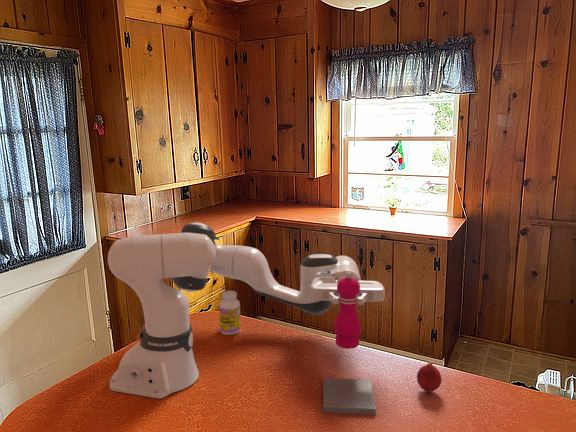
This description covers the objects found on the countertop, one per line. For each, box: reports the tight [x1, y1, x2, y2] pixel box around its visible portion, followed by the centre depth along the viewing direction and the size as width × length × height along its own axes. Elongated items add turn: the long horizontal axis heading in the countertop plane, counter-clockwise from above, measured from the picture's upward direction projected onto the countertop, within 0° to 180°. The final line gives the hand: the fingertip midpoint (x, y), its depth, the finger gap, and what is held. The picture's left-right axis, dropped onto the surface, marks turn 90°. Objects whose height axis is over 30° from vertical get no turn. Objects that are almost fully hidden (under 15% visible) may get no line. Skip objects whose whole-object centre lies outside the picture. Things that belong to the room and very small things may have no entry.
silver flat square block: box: [322, 377, 377, 416], centre depth 111 cm, size 12×12×2 cm
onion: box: [416, 361, 442, 393], centre depth 113 cm, size 6×6×8 cm
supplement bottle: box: [218, 290, 241, 336], centre depth 146 cm, size 7×7×13 cm
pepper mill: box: [333, 272, 362, 350], centre depth 121 cm, size 7×7×20 cm
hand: (348, 302), depth 119 cm, fingers closed on pepper mill, 5 cm apart
